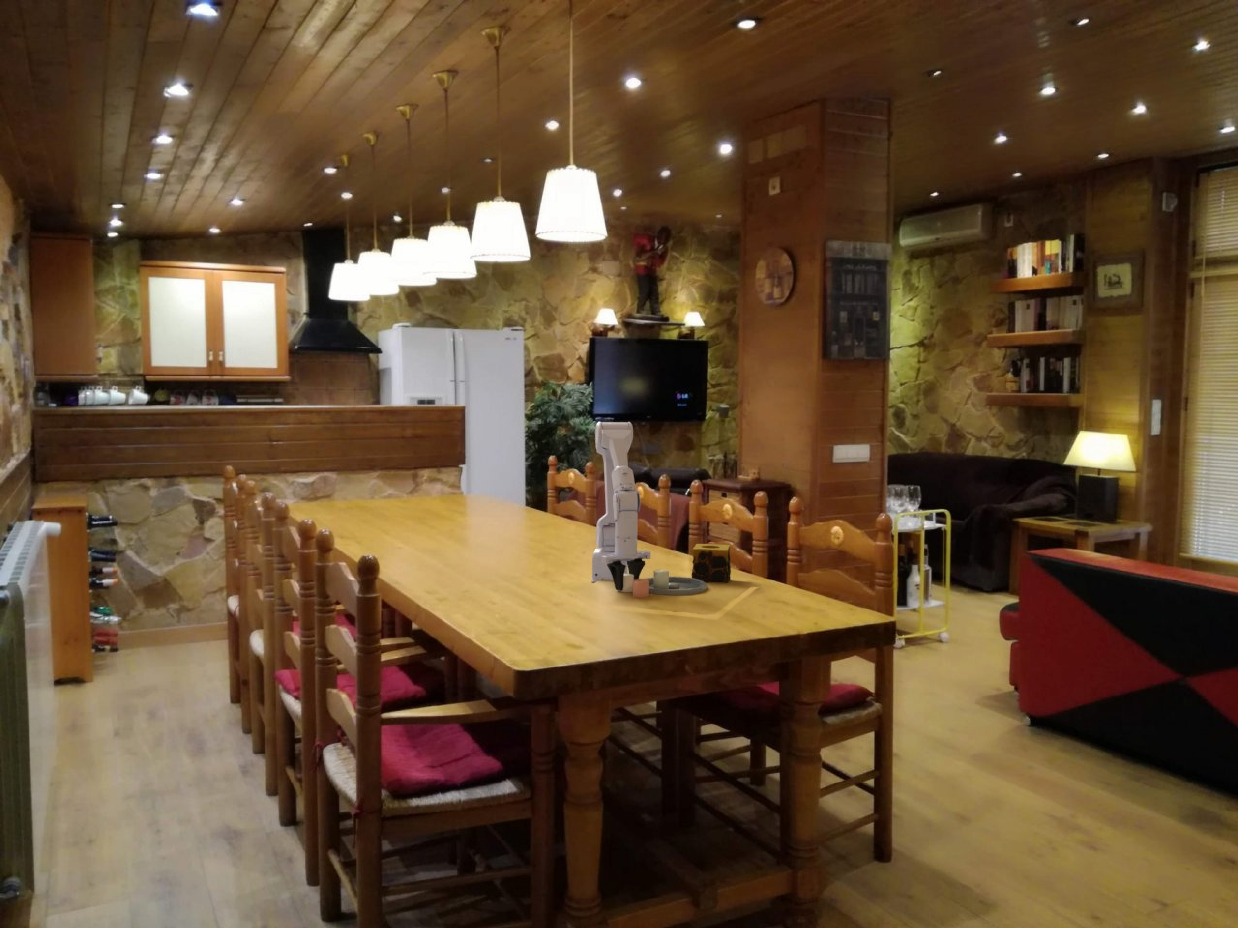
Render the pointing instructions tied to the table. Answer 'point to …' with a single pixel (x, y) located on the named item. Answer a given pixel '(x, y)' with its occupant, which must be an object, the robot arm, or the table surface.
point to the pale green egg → (661, 579)
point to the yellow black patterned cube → (711, 563)
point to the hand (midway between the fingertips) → (626, 588)
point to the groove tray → (679, 586)
